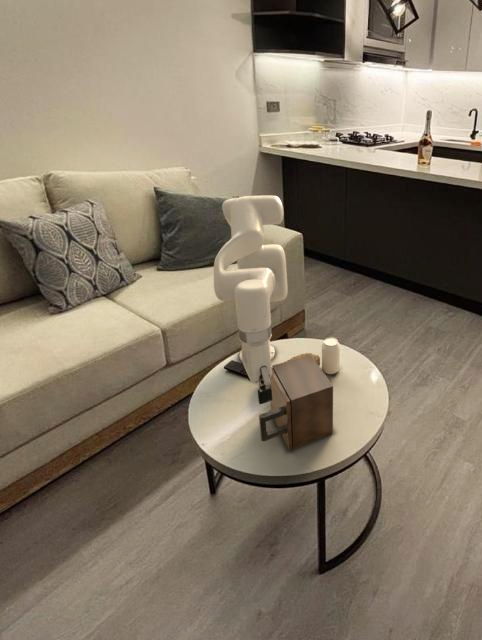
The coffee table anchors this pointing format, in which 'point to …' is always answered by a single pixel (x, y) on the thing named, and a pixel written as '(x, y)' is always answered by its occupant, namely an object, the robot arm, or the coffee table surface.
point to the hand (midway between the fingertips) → (259, 389)
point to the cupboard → (307, 399)
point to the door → (277, 414)
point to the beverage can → (330, 355)
